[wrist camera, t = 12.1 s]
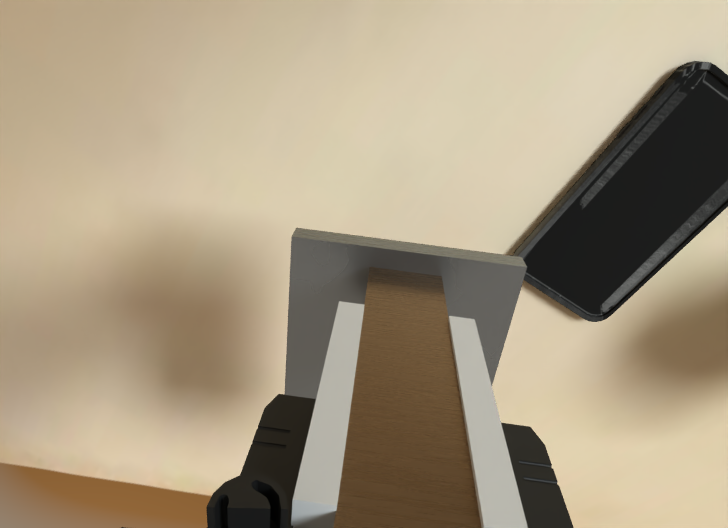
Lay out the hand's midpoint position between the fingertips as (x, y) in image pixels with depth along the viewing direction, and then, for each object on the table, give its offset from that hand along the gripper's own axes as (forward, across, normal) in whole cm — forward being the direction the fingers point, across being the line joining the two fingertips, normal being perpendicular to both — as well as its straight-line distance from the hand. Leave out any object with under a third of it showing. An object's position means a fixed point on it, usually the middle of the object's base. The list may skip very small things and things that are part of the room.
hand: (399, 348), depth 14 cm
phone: (+17, +14, +1) cm, 22 cm away
